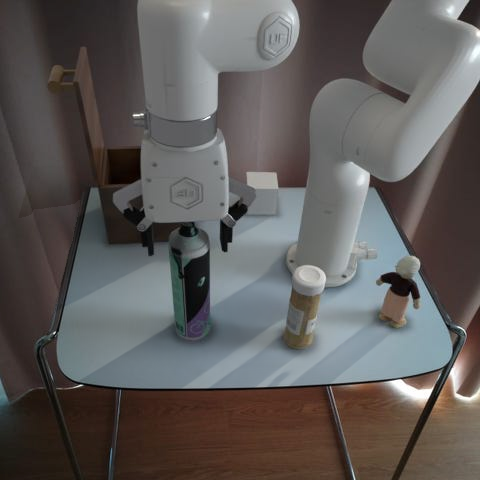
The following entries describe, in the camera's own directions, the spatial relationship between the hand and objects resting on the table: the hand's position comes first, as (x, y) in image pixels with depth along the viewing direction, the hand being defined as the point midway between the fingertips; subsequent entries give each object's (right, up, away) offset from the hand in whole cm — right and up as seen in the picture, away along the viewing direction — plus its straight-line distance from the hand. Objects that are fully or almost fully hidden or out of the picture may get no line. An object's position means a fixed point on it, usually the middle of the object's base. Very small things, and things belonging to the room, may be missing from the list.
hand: (187, 247), depth 66 cm
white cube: (+11, +14, +35) cm, 40 cm away
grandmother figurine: (+31, -9, +15) cm, 36 cm away
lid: (-17, +23, +15) cm, 32 cm away
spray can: (0, -11, +12) cm, 16 cm away
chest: (-10, +10, +31) cm, 34 cm away
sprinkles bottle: (+16, -13, +11) cm, 23 cm away
